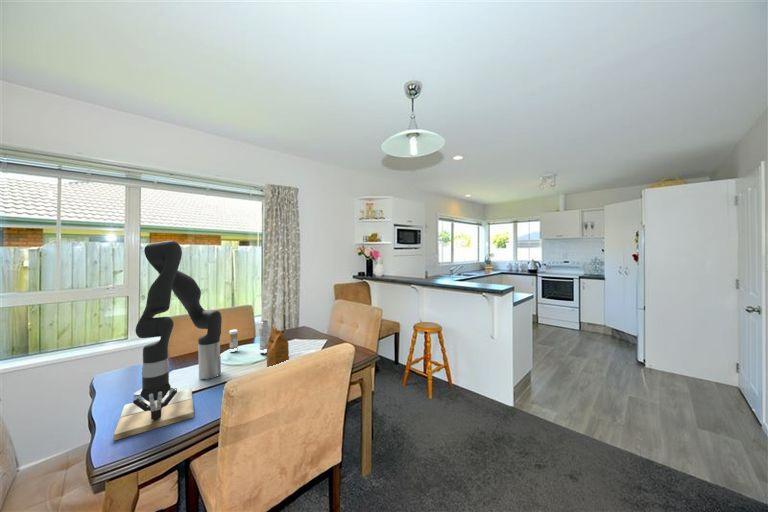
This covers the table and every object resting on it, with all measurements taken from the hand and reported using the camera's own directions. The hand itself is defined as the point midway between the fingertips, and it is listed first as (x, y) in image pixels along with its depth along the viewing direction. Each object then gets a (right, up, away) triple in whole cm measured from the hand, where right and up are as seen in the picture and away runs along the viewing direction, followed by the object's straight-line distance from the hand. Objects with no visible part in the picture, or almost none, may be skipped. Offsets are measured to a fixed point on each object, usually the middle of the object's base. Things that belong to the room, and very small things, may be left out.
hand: (156, 419), depth 101 cm
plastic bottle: (+10, -1, +69) cm, 70 cm away
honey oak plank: (-2, -2, +3) cm, 4 cm away
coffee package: (+26, -1, +48) cm, 54 cm away
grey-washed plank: (-9, -2, +12) cm, 15 cm away
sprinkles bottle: (-11, 0, +73) cm, 73 cm away
